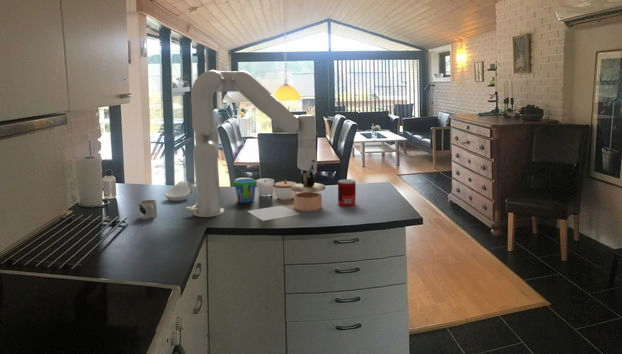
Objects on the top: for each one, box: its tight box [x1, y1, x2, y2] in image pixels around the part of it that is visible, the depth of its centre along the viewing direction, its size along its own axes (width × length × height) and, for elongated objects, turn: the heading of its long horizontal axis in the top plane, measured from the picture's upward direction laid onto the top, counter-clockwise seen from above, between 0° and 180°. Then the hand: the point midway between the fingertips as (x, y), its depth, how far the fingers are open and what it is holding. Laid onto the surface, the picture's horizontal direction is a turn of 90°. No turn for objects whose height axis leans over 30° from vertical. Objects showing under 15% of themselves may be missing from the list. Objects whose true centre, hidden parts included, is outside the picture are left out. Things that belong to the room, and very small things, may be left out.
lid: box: [291, 171, 326, 193], centre depth 190 cm, size 15×15×7 cm
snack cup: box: [233, 178, 257, 204], centre depth 204 cm, size 16×10×10 cm
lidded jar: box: [273, 179, 298, 201], centre depth 208 cm, size 11×11×9 cm
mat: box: [247, 205, 301, 222], centre depth 184 cm, size 17×17×1 cm
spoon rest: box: [164, 180, 193, 202], centre depth 216 cm, size 24×12×7 cm, turn 1°
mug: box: [138, 199, 158, 220], centre depth 180 cm, size 10×7×7 cm
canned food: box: [337, 178, 357, 207], centre depth 197 cm, size 8×8×11 cm
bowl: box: [293, 191, 323, 212], centre depth 192 cm, size 12×12×6 cm
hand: (308, 184), depth 190 cm, fingers closed on lid, 4 cm apart
